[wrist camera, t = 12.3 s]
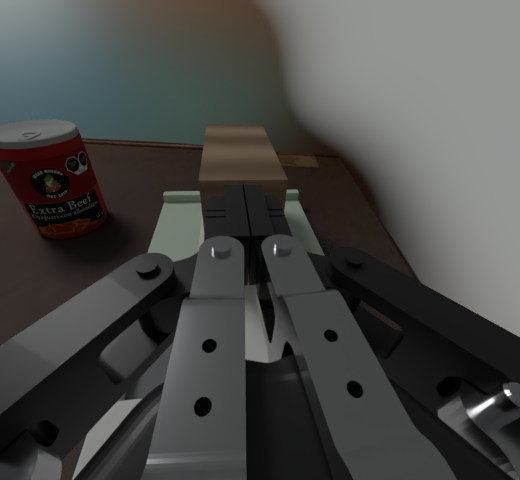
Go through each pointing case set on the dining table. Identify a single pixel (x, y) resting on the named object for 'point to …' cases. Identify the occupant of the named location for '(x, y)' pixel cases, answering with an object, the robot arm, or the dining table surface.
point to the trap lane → (177, 248)
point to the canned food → (52, 177)
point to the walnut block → (239, 162)
